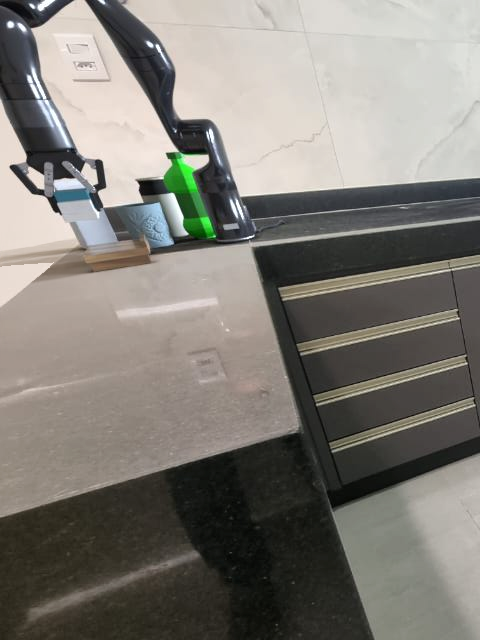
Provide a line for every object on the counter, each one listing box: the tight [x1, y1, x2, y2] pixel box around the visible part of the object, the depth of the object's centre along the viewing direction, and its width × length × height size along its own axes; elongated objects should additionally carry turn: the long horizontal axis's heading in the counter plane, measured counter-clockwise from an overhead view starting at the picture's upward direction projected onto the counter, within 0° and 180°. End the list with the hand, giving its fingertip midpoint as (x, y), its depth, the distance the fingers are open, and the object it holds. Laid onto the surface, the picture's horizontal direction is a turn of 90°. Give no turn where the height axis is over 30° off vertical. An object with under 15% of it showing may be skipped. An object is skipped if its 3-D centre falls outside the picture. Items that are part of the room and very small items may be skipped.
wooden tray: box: [82, 232, 153, 273], centre depth 137 cm, size 18×12×6 cm, turn 41°
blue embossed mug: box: [114, 202, 175, 250], centre depth 154 cm, size 10×10×12 cm
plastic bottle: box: [163, 151, 216, 240], centre depth 161 cm, size 10×10×25 cm
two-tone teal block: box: [53, 188, 99, 224], centre depth 110 cm, size 12×5×6 cm, turn 43°
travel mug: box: [134, 175, 190, 239], centre depth 166 cm, size 8×8×18 cm
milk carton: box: [54, 179, 119, 250], centre depth 155 cm, size 7×7×19 cm
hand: (81, 212), depth 112 cm, fingers closed on two-tone teal block, 5 cm apart
